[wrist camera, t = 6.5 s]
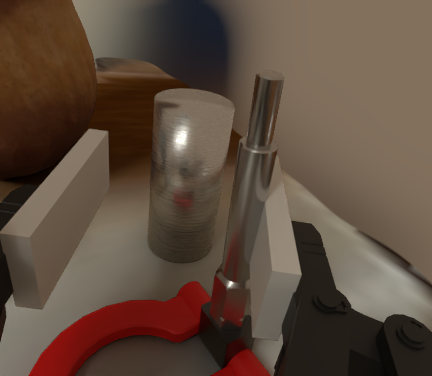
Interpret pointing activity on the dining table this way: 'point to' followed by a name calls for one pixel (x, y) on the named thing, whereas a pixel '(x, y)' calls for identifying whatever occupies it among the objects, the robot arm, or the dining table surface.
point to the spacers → (187, 171)
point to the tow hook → (193, 292)
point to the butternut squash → (42, 84)
